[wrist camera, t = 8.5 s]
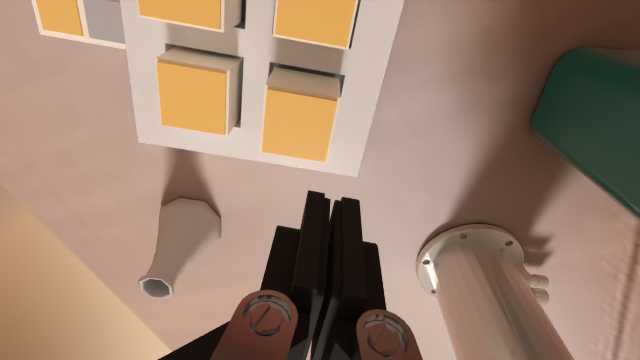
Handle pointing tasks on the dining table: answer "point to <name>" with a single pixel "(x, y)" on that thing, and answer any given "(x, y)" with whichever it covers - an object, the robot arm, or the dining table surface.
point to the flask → (179, 243)
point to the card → (82, 20)
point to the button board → (266, 78)
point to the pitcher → (596, 119)
